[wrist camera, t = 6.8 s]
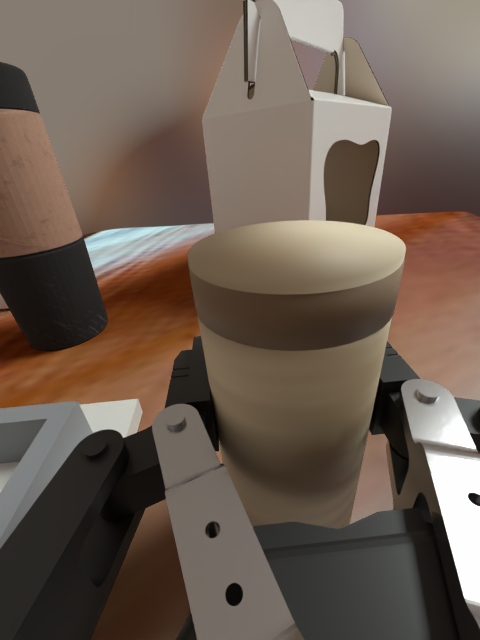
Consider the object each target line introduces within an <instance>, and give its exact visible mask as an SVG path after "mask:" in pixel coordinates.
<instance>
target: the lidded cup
mask: <svg viewBox="0 0 480 640" xmlns="http://www.w3.org/2000/svg"><path fill="white" fill-rule="evenodd" d="M405 251H406V247H405V244H404V243H403V241H402V240H401V239H399V238H398V237H397V236H395V235H393V234H391V233H389V232H387V231H384V230H381V229H378V228H374V227H370V226H366V225H360V224H354V223H347V222H337V221H319V220H297V221H279V222H268V223H260V224H253V225H247V226H242V227H237V228H233V229H229V230H225V231H222V232H219V233H216V234H213V235H210V236H208V237H206V238H204V239H202V240H200V241H198V242H197V243H196V244H194V245H193V246H192V247H191V248H190V249H189V252H188V268H189V274H190V279H191V285H192V291H193V297H194V303H195V308H196V312H197V316H198V321H199V327H200V333H201V339H202V345H203V350H204V356H205V362H206V368H207V374H208V380H209V385H210V389H211V395H212V401H213V406H214V412H215V418H216V424H217V430H218V436H219V444H220V450H221V456H222V461H223V464H224V465H225V467H226V469H227V471H228V473H229V475H230V478H231V480H232V482H233V484H234V487H235V489H236V491H237V493H238V496H239V498H240V500H241V503H242V505H243V507H244V509H245V512H246V514H247V516H248V518H249V521H250V523H251V525H252V527H253V526H259V525H268V524H277V523H285V522H300V523H305V524H311V525H317V526H323V527H329V528H335V529H340V528H344V527H346V526H348V525H349V524H350V519H351V514H352V509H353V504H354V500H355V495H356V490H357V485H358V480H359V475H360V470H361V465H362V461H363V456H364V451H365V446H366V441H367V436H368V431H369V426H370V421H371V417H372V412H373V407H374V402H375V397H376V392H377V387H378V382H379V378H380V373H381V368H382V363H383V358H384V353H385V348H386V343H387V338H388V334H389V329H390V324H391V319H392V316H393V313H394V309H395V304H396V299H397V295H398V290H399V285H400V280H401V275H402V270H403V266H404V261H405V256H404V255H405Z"/></svg>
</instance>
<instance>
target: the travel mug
mask: <svg viewBox="0 0 480 640" xmlns="http://www.w3.org/2000/svg"><path fill="white" fill-rule="evenodd" d="M0 294H1V296H2V297H3V299H4V301H5V303H6V304H7V306H8V308H9V310H10V311H11V313H12V315H13V316H14V318H15V320H16V322H17V323H18V325H19V327H20V329H21V330H22V332H23V334H24V335H25V337H26V339H27V340H28V342H29V343H30V345H31V346H32V347H34V348H35V349H38V350H45V351H50V350H59V349H64V348H68V347H72V346H75V345H78V344H81V343H83V342H85V341H87V340H89V339H91V338H93V337H94V336H96V335H97V334H99V333H100V332H101V331H102V330H103V329H104V328H105V327H106V325H107V322H108V318H107V314H106V311H105V307H104V304H103V300H102V297H101V294H100V291H99V287H98V284H97V281H96V277H95V274H94V271H93V268H92V264H91V261H90V258H89V254H88V251H87V248H86V245H85V241H84V238H83V237H82V232H81V229H80V226H79V223H78V221H77V218H76V215H75V212H74V209H73V207H72V203H71V201H70V198H69V195H68V192H67V189H66V187H65V184H64V181H63V178H62V175H61V172H60V169H59V166H58V164H57V161H56V158H55V155H54V152H53V149H52V146H51V144H50V141H49V138H48V135H47V132H46V129H45V127H44V124H43V121H42V118H41V115H40V114H39V109H38V107H37V104H36V101H35V99H34V95H33V92H32V90H31V87H30V84H29V81H28V79H27V76H26V74H25V73H24V72H23V71H22V70H21V69H19V68H18V67H15V66H13V65H9V64H6V63H2V62H0Z"/></svg>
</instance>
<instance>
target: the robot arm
mask: <svg viewBox="0 0 480 640" xmlns="http://www.w3.org/2000/svg"><path fill="white" fill-rule="evenodd" d="M369 430H370V432H371V434H372V435H376V434H385V435H386V437H387V439H388V441H387V444H386V453H387V460H388V467H389V474H390V481H391V488H392V495H393V510H391V511H382V512H377V513H374V514H372V515H370V516H368V517H366V518H363V519H361V520H359V521H357V522H355V523H353V524H350V525H348V526H346V527H344V528H340V529H335V528H329V527H323V526H317V525H311V524H305V523H300V522H285V523H277V524H268V525H259V526H253V527H252V525H251V523H250V521H249V518H248V516H247V514H246V512H245V509H244V507H243V505H242V503H241V500H240V498H239V496H238V493H237V491H236V489H235V487H234V484H233V482H232V480H231V478H230V475H229V473H228V471H227V469H226V467H225V465H224V464H221V463H220V461H219V459H218V457H217V455H216V452H215V451H219V436H218V430H217V424H216V418H215V412H214V406H213V401H212V395H211V389H210V385H209V380H208V374H207V368H206V362H205V356H204V350H203V345H202V339H201V336H199V337H194V339H193V347H192V350H185V351H181V352H180V354H179V355H178V356H177V357H176V359H175V360H174V365H173V371H172V375H171V380H170V385H169V390H168V395H167V400H166V404H165V409H163V410H162V411H161V412H160V413H159V414H158V415H157V416H156V417H155V419H154V421H153V424H152V426H150V427H148V428H147V429H145V430H142V431H140V432H137V433H135V434H132V435H129V436H127V437H124V438H123V436H122V435H121V434H120V433H119V432H118V431H116V430H111V429H106V430H100V431H97V432H94V433H92V434H90V435H89V436H87V437H85V438H84V439H83V440H82V441H81V442H80V443H78V445H77V446H76V447H75V448H74V450H73V451H72V452H71V454H70V455H69V456H68V458H67V459H66V460H65V462H64V463H63V464H62V466H61V467H60V469H59V470H58V471H57V473H56V474H55V475H54V477H53V478H52V479H51V481H50V482H49V483H48V485H47V486H46V488H45V489H44V490H43V492H42V493H41V494H40V496H39V497H38V498H37V500H36V501H35V502H34V504H33V505H32V506H31V508H30V509H29V511H28V512H27V513H26V515H25V516H24V517H23V519H22V520H21V521H20V523H19V524H18V525H17V527H16V528H15V530H14V531H13V532H12V534H11V535H10V536H9V538H8V539H7V540H6V542H5V543H4V544H3V546H2V547H1V549H0V640H90V639H91V637H92V634H93V632H94V629H95V627H96V625H97V622H98V620H99V618H100V615H101V613H102V610H103V608H104V606H105V603H106V601H107V599H108V596H109V594H110V591H111V589H112V587H113V584H114V582H115V580H116V577H117V575H118V572H119V570H120V568H121V565H122V563H123V561H124V558H125V556H126V553H127V551H128V549H129V546H130V544H131V542H132V539H133V537H134V534H135V532H136V530H137V527H138V525H139V523H140V520H141V518H142V515H143V513H144V511H145V508H147V507H149V506H151V505H153V504H156V503H158V502H160V501H162V500H164V499H166V501H167V506H168V510H169V515H170V519H171V524H172V528H173V533H174V537H175V542H176V546H177V551H178V555H179V560H180V564H181V569H182V573H183V578H184V582H185V587H186V591H187V596H188V600H189V605H190V609H191V614H190V615H189V617H188V619H187V621H186V623H185V624H184V626H183V628H182V630H181V632H180V633H179V635H178V637H177V639H176V640H480V401H479V400H471V399H463V398H456V397H453V395H452V394H451V393H450V392H449V391H448V390H447V389H446V388H444V387H443V386H441V385H439V384H437V383H435V382H432V381H428V380H424V379H420V378H419V377H418V375H417V374H416V373H415V372H414V371H413V370H412V369H411V368H410V366H409V365H408V364H407V363H406V362H405V361H404V360H403V359H402V357H401V356H400V355H399V356H398V353H397V352H396V351H395V350H394V348H392V346H391V345H390V344H389V343H388V342H387V343H386V348H385V353H384V358H383V363H382V368H381V373H380V378H379V382H378V387H377V392H376V397H375V402H374V407H373V412H372V417H371V421H370V426H369Z"/></svg>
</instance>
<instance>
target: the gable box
mask: <svg viewBox="0 0 480 640" xmlns="http://www.w3.org/2000/svg"><path fill="white" fill-rule="evenodd" d="M343 17H344V13H343V6H342V3H341V2H339V1H338V0H252V1H251V0H245V1H243V16H242V17H241V19H240V21H239V24H238V26H237V29H236V31H235V34H234V36H233V39H232V42H231V44H230V47H229V50H228V52H227V55H226V57H225V60H224V63H223V65H222V68H221V70H220V73H219V76H218V78H217V81H216V84H215V86H214V89H213V91H212V94H211V97H210V99H209V102H208V105H207V107H206V110H205V112H204V115H203V118H202V125H203V133H204V141H205V151H206V159H207V167H208V176H209V185H210V193H211V202H212V210H213V219H214V228H215V234H216V233H219V232H222V231H225V230H229V229H233V228H237V227H242V226H247V225H253V224H260V223H268V222H279V221H297V220H319V221H337V222H347V223H354V224H360V225H366V226H370V227H374V225H375V219H376V212H377V205H378V199H379V192H380V185H381V178H382V172H383V165H384V158H385V151H386V145H387V138H388V132H389V125H390V118H391V112H392V108H391V107H390V106H389V104H388V102H387V100H386V98H385V96H384V94H383V92H382V90H381V88H380V86H379V84H378V82H377V80H376V78H375V76H374V74H373V72H372V70H371V67H370V65H369V63H368V61H367V59H366V57H365V55H364V53H363V51H362V49H361V47H360V45H359V44H358V42H357V41H356V40H354V39H352V38H343ZM291 40H292V41H295V42H298V43H301V44H303V45H306V46H309V47H312V48H315V49H318V50H321V51H324V52H326V55H325V58H324V61H323V64H322V67H321V70H320V72H319V75H318V78H317V81H316V84H315V87H314V89H313V90H308V87H307V85H306V82H305V79H304V76H303V74H302V70H301V68H300V65H299V62H298V59H297V56H296V54H295V51H294V48H293V45H292V43H291ZM250 83H254V84H253V85H251V86H250Z"/></svg>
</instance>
